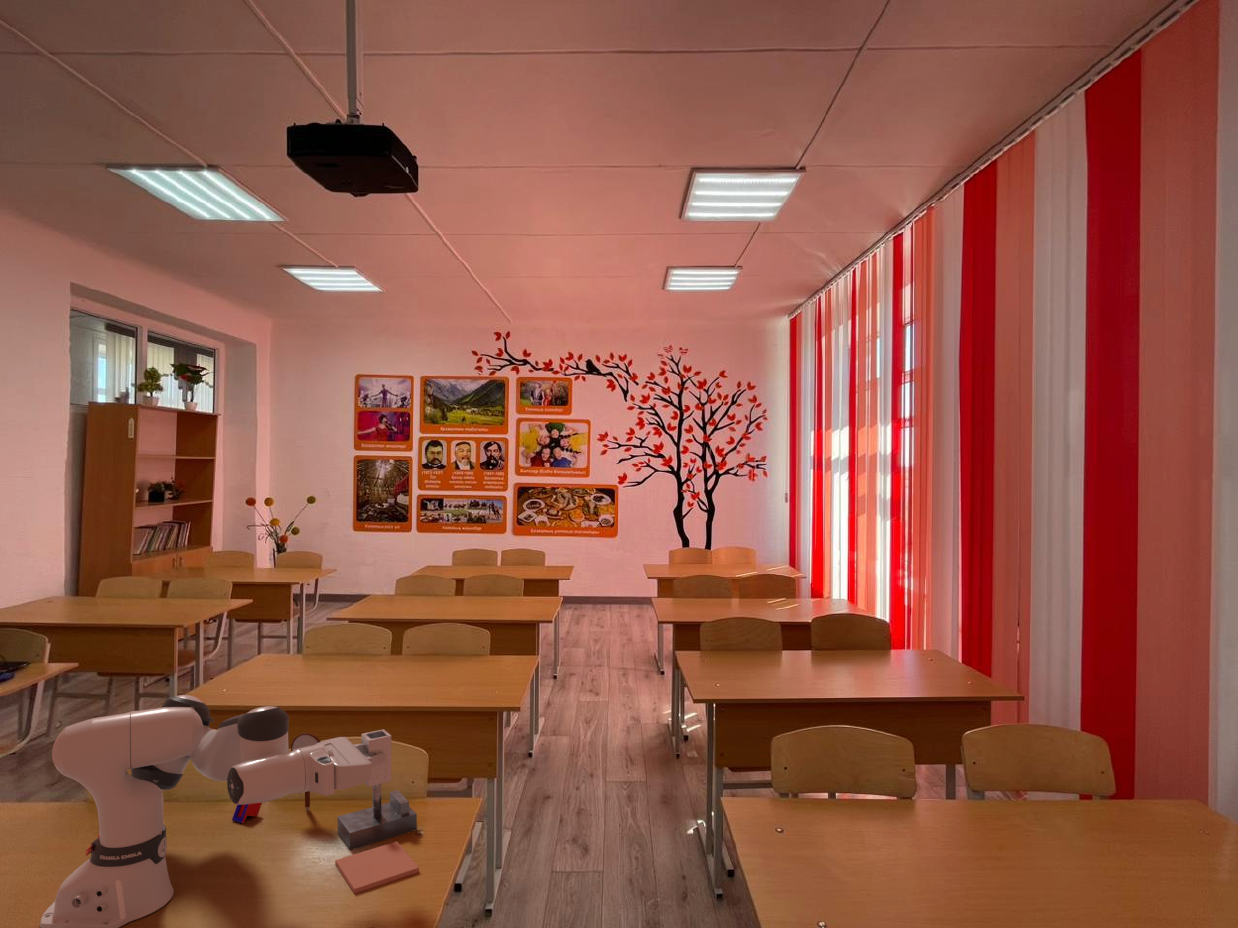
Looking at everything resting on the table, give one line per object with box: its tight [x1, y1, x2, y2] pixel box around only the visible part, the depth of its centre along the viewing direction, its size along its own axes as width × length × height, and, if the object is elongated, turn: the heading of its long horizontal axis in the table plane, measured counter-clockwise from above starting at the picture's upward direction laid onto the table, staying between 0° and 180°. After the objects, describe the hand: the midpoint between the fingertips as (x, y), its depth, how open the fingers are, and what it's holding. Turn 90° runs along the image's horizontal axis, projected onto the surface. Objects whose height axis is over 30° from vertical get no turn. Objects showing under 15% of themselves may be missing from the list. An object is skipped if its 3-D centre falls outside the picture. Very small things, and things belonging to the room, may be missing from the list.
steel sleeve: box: [360, 729, 392, 788], centre depth 169 cm, size 5×5×10 cm
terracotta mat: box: [334, 841, 420, 895], centre depth 169 cm, size 14×14×1 cm
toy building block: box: [231, 802, 263, 824], centre depth 194 cm, size 4×4×8 cm
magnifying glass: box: [290, 732, 322, 811], centre depth 197 cm, size 9×2×20 cm, turn 81°
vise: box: [337, 784, 418, 851], centre depth 185 cm, size 16×10×13 cm, turn 126°
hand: (380, 751), depth 169 cm, fingers closed on steel sleeve, 5 cm apart
